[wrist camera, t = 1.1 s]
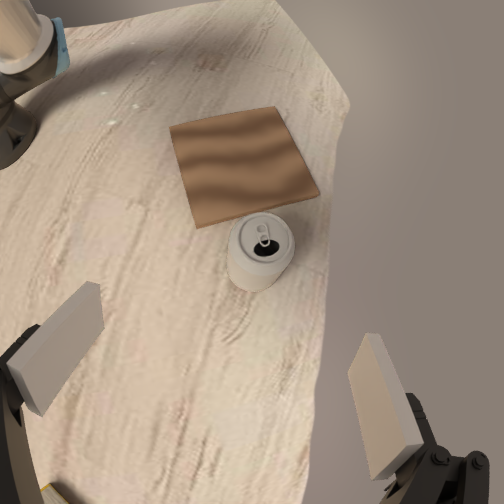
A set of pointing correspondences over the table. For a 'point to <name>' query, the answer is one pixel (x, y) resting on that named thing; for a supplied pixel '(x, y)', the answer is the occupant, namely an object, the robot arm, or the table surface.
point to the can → (259, 251)
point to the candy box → (52, 496)
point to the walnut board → (239, 165)
